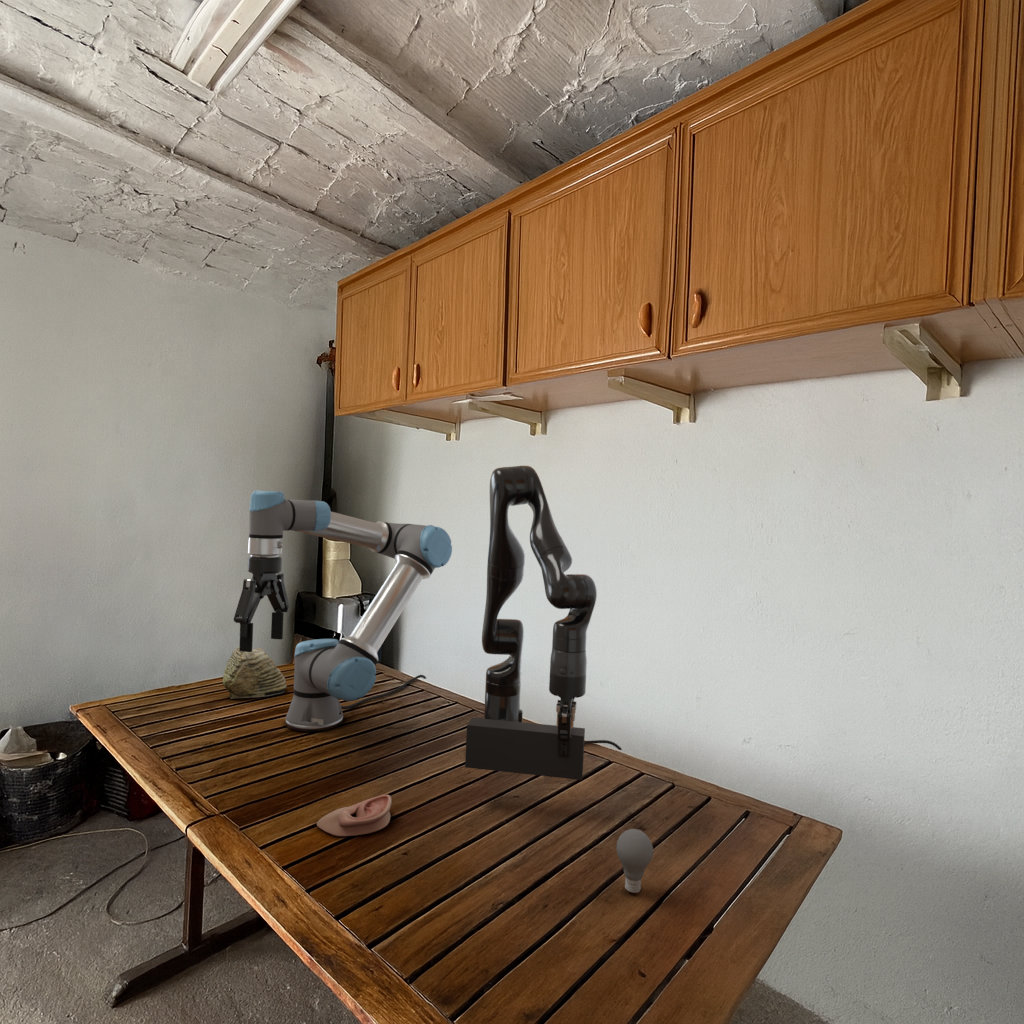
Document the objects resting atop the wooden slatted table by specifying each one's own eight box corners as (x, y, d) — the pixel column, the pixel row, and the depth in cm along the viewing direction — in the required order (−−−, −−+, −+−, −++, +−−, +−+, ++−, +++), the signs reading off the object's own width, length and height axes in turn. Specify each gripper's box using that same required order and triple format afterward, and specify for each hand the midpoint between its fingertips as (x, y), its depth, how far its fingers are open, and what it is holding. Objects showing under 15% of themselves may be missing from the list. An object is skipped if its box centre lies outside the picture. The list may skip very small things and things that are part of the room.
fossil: (218, 695, 195) (220, 647, 195) (278, 685, 208) (279, 640, 207) (228, 703, 189) (230, 653, 188) (289, 692, 201) (290, 645, 201)
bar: (464, 767, 132) (466, 724, 132) (469, 758, 137) (471, 717, 136) (582, 780, 128) (584, 736, 128) (582, 770, 133) (584, 728, 133)
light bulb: (610, 879, 108) (613, 822, 108) (644, 879, 109) (647, 822, 109) (619, 902, 102) (622, 840, 102) (655, 901, 103) (658, 840, 103)
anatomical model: (309, 810, 119) (337, 784, 131) (308, 831, 119) (337, 803, 131) (375, 821, 117) (398, 793, 128) (374, 842, 117) (397, 812, 128)
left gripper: (250, 561, 137) (246, 658, 138) (305, 552, 162) (301, 635, 162) (218, 559, 138) (215, 655, 139) (277, 551, 163) (274, 633, 163)
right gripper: (585, 681, 123) (581, 768, 123) (587, 663, 137) (583, 741, 138) (546, 678, 124) (542, 764, 125) (553, 660, 139) (549, 738, 139)
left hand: (261, 645), depth 150 cm, fingers open, 13 cm apart
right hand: (564, 752), depth 131 cm, fingers closed on bar, 4 cm apart
